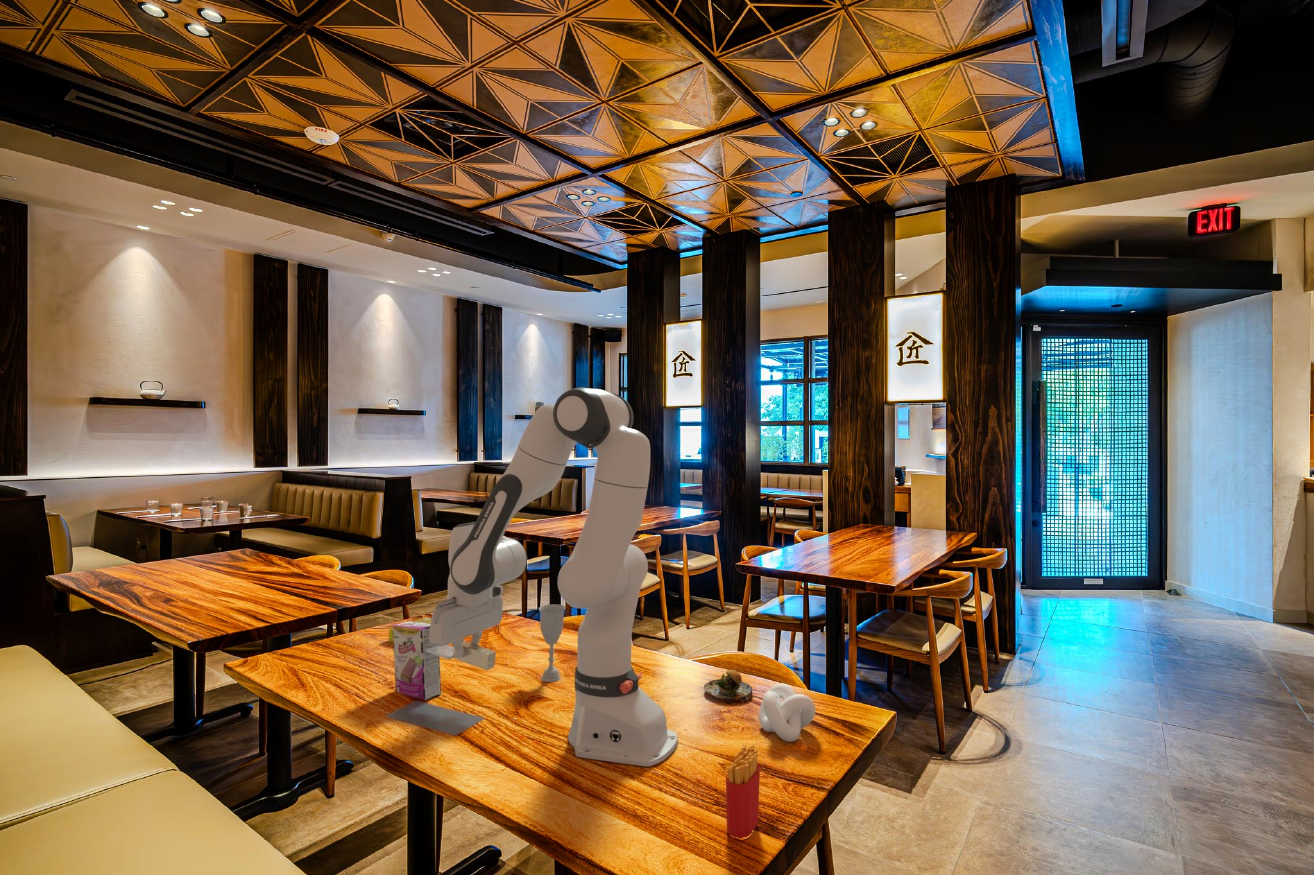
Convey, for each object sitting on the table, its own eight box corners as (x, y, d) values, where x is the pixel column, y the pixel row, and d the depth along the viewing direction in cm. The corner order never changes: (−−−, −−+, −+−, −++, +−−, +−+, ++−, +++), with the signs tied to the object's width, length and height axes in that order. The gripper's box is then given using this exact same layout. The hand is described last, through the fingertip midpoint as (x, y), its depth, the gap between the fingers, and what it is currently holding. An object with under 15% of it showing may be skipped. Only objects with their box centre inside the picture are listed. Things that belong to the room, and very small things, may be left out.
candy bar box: (394, 695, 147) (391, 625, 148) (412, 688, 151) (409, 620, 153) (424, 701, 141) (421, 628, 142) (442, 694, 146) (439, 623, 147)
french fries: (740, 811, 102) (740, 738, 102) (763, 819, 100) (763, 744, 100) (719, 840, 95) (720, 761, 95) (744, 848, 93) (745, 767, 93)
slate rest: (485, 722, 134) (485, 718, 134) (455, 740, 125) (455, 735, 125) (416, 705, 142) (416, 700, 142) (383, 720, 134) (384, 716, 134)
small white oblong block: (498, 665, 140) (499, 650, 139) (482, 672, 135) (484, 656, 135) (442, 645, 147) (443, 631, 147) (425, 651, 142) (427, 636, 142)
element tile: (419, 651, 180) (419, 634, 180) (385, 642, 187) (385, 626, 187) (459, 637, 193) (459, 622, 193) (426, 630, 200) (426, 615, 200)
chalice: (558, 684, 155) (559, 612, 155) (532, 682, 156) (534, 610, 157) (568, 674, 162) (569, 605, 162) (543, 672, 164) (545, 603, 164)
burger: (707, 683, 158) (707, 654, 158) (753, 688, 155) (754, 658, 156) (700, 702, 146) (701, 671, 146) (751, 707, 144) (751, 675, 144)
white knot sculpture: (803, 753, 122) (804, 707, 122) (746, 738, 128) (746, 695, 128) (818, 730, 132) (819, 688, 132) (764, 718, 138) (765, 677, 138)
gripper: (445, 605, 130) (444, 671, 130) (507, 586, 148) (506, 644, 148) (422, 601, 132) (421, 666, 132) (486, 583, 151) (485, 640, 151)
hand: (466, 654), depth 140 cm, fingers closed on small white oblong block, 2 cm apart
